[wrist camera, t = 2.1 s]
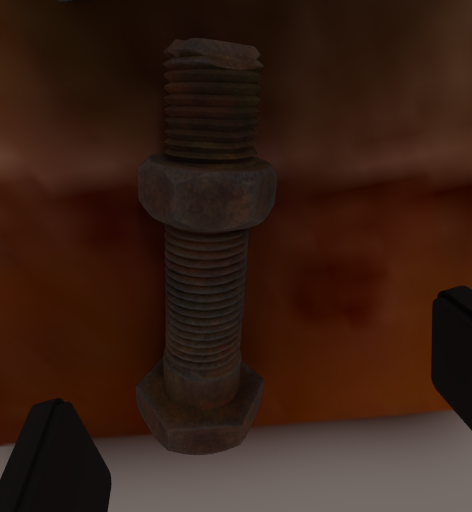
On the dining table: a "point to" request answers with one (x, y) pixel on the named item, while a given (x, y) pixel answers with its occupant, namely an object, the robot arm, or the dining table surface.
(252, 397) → the bolt
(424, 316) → the dining table surface
